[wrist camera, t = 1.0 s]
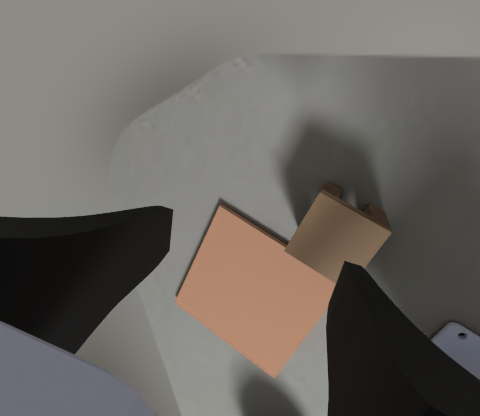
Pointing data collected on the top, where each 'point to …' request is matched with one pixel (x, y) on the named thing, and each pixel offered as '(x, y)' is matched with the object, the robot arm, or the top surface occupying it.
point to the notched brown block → (337, 234)
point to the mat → (253, 291)
